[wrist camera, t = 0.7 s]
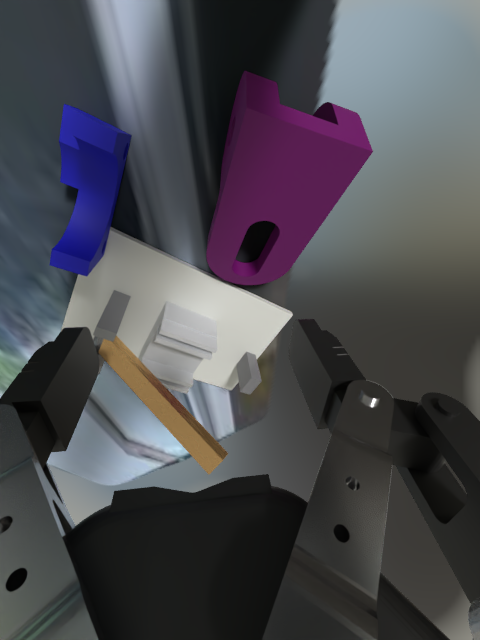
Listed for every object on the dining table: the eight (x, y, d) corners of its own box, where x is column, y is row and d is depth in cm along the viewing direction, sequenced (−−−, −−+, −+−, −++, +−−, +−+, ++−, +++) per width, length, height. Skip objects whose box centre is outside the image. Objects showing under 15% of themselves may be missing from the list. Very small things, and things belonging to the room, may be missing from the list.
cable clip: (77, 108, 24) (47, 98, 19) (131, 135, 25) (117, 132, 20) (57, 239, 29) (29, 258, 24) (103, 255, 30) (87, 276, 25)
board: (96, 220, 29) (67, 250, 23) (291, 311, 39) (309, 350, 33) (61, 334, 37) (32, 380, 31) (231, 386, 47) (235, 429, 41)
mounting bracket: (271, 240, 39) (351, 93, 24) (274, 290, 35) (373, 151, 20) (204, 225, 37) (246, 51, 22) (199, 276, 33) (246, 107, 18)
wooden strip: (100, 343, 33) (89, 347, 31) (109, 322, 31) (97, 325, 30) (214, 467, 28) (206, 477, 27) (230, 450, 27) (223, 460, 26)
